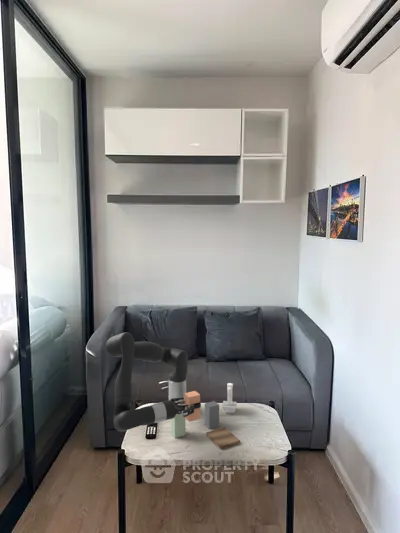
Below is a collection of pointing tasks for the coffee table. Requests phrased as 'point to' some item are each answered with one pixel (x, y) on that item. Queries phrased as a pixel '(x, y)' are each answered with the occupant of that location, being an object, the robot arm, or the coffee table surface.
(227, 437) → the walnut board
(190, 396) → the terracotta brick
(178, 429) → the sage brick
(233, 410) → the figurine
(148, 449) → the coffee table surface
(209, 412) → the charcoal brick
